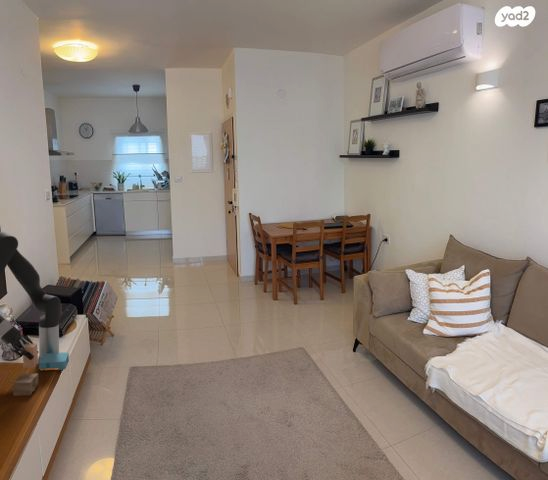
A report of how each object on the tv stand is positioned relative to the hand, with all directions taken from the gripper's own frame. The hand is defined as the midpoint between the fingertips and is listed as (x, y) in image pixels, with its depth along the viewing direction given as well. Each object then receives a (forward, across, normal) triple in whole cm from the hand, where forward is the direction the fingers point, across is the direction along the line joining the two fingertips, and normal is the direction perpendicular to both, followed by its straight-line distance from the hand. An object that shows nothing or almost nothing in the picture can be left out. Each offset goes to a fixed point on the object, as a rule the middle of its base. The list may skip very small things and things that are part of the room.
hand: (34, 356), depth 208 cm
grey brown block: (+8, -14, +6) cm, 17 cm away
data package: (+5, +12, +7) cm, 15 cm away
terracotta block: (+2, 0, +5) cm, 5 cm away
